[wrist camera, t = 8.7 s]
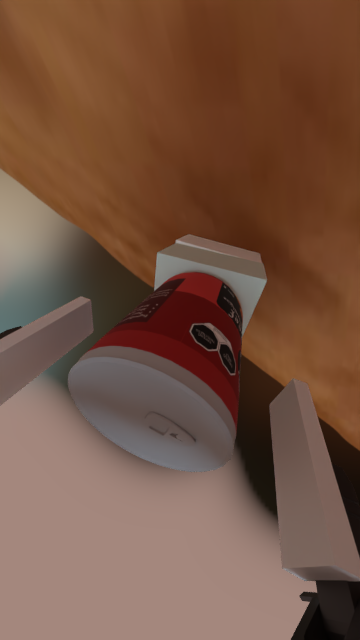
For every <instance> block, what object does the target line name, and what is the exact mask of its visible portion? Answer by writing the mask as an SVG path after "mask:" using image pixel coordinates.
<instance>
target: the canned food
mask: <svg viewBox="0 0 360 640" xmlns="http://www.w3.org/2000/svg"><path fill="white" fill-rule="evenodd" d="M242 326H243V312H242V308H241V304H240V302H239V300H238V298H237V296H236V295H235V294H234V292H233V291H232V290H231V289H230V288H229V286H227V285H226V284H225V283H224V282H223V281H221V280H220V279H218V278H216V277H214V276H211V275H208V274H205V273H199V272H190V273H182V274H178V275H175V276H173V277H171V278H169V279H168V280H167V281H165V282H164V283H163V284H162V285H161V286H160V287H158V288H157V289H156V290H155V291H154V292H153V293H152V294H151V295H149V296H148V297H147V298H146V299H145V300H144V301H143V302H142V303H141V304H140V305H138V306H137V307H136V308H135V309H134V310H133V311H132V312H130V313H129V314H128V315H127V316H126V317H125V318H124V319H123V320H121V321H120V322H119V323H118V324H117V325H116V326H115V327H114V328H112V329H111V330H110V331H109V332H108V333H107V334H106V335H105V336H103V337H102V338H101V339H100V340H99V341H98V342H97V343H96V344H95V345H94V346H93V347H92V348H91V349H90V350H88V351H87V352H86V353H85V354H84V355H83V356H82V357H81V358H80V360H79V361H78V362H77V363H76V364H75V365H74V366H73V367H72V369H71V371H70V373H69V375H68V386H69V392H70V394H71V396H72V398H73V400H74V402H75V404H76V406H77V407H78V408H79V410H80V412H81V413H82V414H83V415H84V417H85V418H86V419H87V420H88V421H89V422H90V423H91V424H92V425H93V426H94V427H95V428H96V429H97V430H98V431H99V432H101V433H102V434H103V435H104V436H106V437H107V438H108V439H110V440H111V441H113V442H114V443H115V444H117V445H119V446H120V447H122V448H124V449H125V450H127V451H129V452H130V453H132V454H134V455H137V456H138V457H140V458H142V459H145V460H147V461H150V462H152V463H155V464H158V465H161V466H164V467H167V468H171V469H176V470H181V471H190V472H195V471H196V472H202V471H210V470H215V469H217V468H220V467H222V466H224V465H225V464H226V463H227V462H228V461H229V460H230V459H231V456H232V453H233V450H234V449H233V448H234V441H235V438H236V428H237V416H238V403H239V402H238V401H239V384H240V364H241V345H242Z"/></svg>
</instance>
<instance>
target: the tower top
mask: <svg viewBox="0 0 360 640" xmlns="http://www.w3.org/2000/svg"><path fill="white" fill-rule="evenodd" d="M190 272H199V273H205V274H208V275H211V276H214V277H216V278H218V279H220V280H221V281H223V282H224V283H225V284H226V285H227V286H229V288H230V289H231V290H232V291H233V292H234V294H235V295H236V296H237V298H238V300H239V302H240V304H241V308H242V312H243V326H242V336H243V334H244V332H245V329H246V327H247V325H248V323H249V320H250V318H251V316H252V313H253V311H254V309H255V307H256V304H257V302H258V300H259V298H260V295H261V293H262V291H263V289H264V286H265V284H266V282H267V277H266V273H265V268H264V264H263V263H259V262H255V261H251V260H247V259H242V258H238V257H234V256H230V255H226V254H221V253H217V252H213V251H209V250H205V249H200V248H196V247H192V246H188V245H183V244H179V243H175V244H173V245H171V246H169V247H167V248H165V249H163V250H161V251H159V252H157V262H156V274H155V286H154V291H155V290H156V289H157V288H158V287H160V286H161V285H162V284H163V283H164V282H165V281H167V280H168V279H169V278H171V277H173V276H175V275H178V274H182V273H190Z"/></svg>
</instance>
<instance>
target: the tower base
mask: <svg viewBox="0 0 360 640" xmlns="http://www.w3.org/2000/svg"><path fill="white" fill-rule="evenodd" d="M176 243H179V244H183V245H188V246H192V247H196V248H200V249H205V250H209V251H213V252H217V253H221V254H226V255H230V256H234V257H238V258H242V259H247V260H251V261H255V262H259V263H262V261H261V256H260V253H256V252H253V251H249V250H245V249H242V248H238V247H234V246H231V245H227V244H223V243H220V242H216V241H213V240H209V239H205V238H202V237H198V236H194V235H191V234H188V235H185V236H183V237H181V238H179V239H177V240H176Z"/></svg>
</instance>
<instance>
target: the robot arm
mask: <svg viewBox="0 0 360 640" xmlns="http://www.w3.org/2000/svg"><path fill="white" fill-rule="evenodd" d="M92 332H93V320H92V308H91V300H89V299H87V298H84V297H82V296H81V297H79V298H77V299H75V300H73V301H71V302H69V303H67V304H66V305H64V306H62V307H60V308H58V309H56V310H55V311H52V312H51V313H49V314H47V315H45V316H43V317H41V318H39V319H37V320H36V321H34V322H32V323H30V324H28V325H26V326H24V327H21V326H20V327H16V328H13V329H9V330H6V331H4V332H2V333H1V334H0V405H2V404H3V403H4V402H5V401H7V400H8V399H9V398H11V397H12V396H13V395H14V394H16V393H17V392H18V391H19V390H21V389H22V388H23V387H24V386H26V385H27V384H28V383H29V382H31V381H32V380H33V379H34V378H36V377H37V376H38V375H39V374H41V373H42V372H43V371H45V370H46V369H47V368H48V367H50V366H51V365H52V364H53V363H55V362H56V361H57V360H58V359H60V358H61V357H62V356H64V355H65V354H66V353H67V352H69V351H70V350H71V349H72V348H74V347H75V346H76V345H77V344H79V343H80V342H81V341H82V340H84V339H85V338H86V337H87V336H89V335H90V334H91V333H92ZM270 418H271V431H272V444H273V455H274V469H275V482H276V495H277V508H278V521H279V533H280V546H281V560H282V568H283V569H284V570H286V571H288V572H289V573H291V574H293V575H295V576H297V577H299V578H300V579H302V580H304V581H316V585H317V592H318V593H315V592H314V593H313V592H303V593H302V594H301V595H300V598H301V600H302V601H308V602H310V603H309V605H308V607H307V609H306V611H305V613H304V615H303V617H302V619H301V621H300V623H299V625H298V626H297V628H296V630H295V632H294V634H293V636H292V638H291V640H360V507H359V501H358V498H357V496H356V493H355V490H354V487H353V485H352V483H351V482H350V480H349V478H348V477H347V475H346V473H345V472H344V470H343V468H342V467H339V466H337V465H335V464H332V463H331V461H330V457H329V454H328V451H327V448H326V444H325V441H324V438H323V434H322V430H321V427H320V424H319V420H318V417H317V414H316V410H315V407H314V404H313V400H312V397H311V394H310V390H309V387H308V384H307V383H304V382H302V381H299V380H296V379H294V378H293V379H292V380H291V381H290V382H289V384H288V385H287V386H286V387H285V388H284V389H283V390H282V391H281V393H280V394H279V395H278V396H277V397H276V398H275V399H274V400H273V402H272V403H271V404H270Z"/></svg>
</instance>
